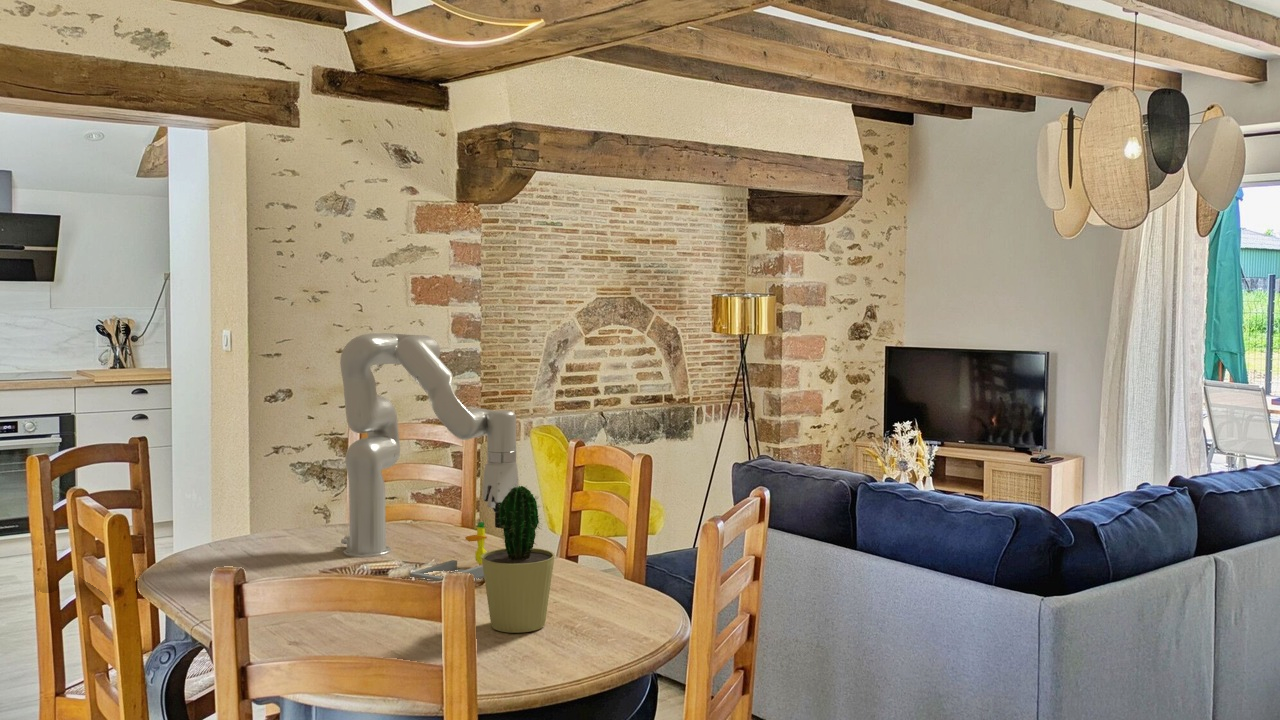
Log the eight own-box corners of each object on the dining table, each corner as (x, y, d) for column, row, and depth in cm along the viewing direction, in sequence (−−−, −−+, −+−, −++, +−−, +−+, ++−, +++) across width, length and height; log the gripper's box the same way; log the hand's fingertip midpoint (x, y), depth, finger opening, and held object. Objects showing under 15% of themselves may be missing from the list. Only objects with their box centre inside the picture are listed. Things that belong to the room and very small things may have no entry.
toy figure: (468, 572, 268) (468, 525, 267) (463, 569, 271) (463, 522, 270) (493, 568, 271) (493, 522, 270) (487, 566, 274) (487, 520, 274)
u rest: (407, 585, 254) (407, 573, 254) (451, 571, 268) (451, 559, 268) (446, 592, 248) (446, 579, 248) (488, 577, 262) (488, 565, 262)
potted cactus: (511, 610, 233) (510, 475, 232) (568, 621, 225) (569, 481, 224) (465, 628, 220) (465, 485, 219) (525, 640, 212) (525, 491, 211)
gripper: (507, 453, 284) (507, 521, 285) (472, 460, 271) (472, 531, 272) (530, 455, 280) (530, 524, 281) (495, 462, 267) (495, 534, 268)
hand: (501, 527), depth 276 cm, fingers closed
